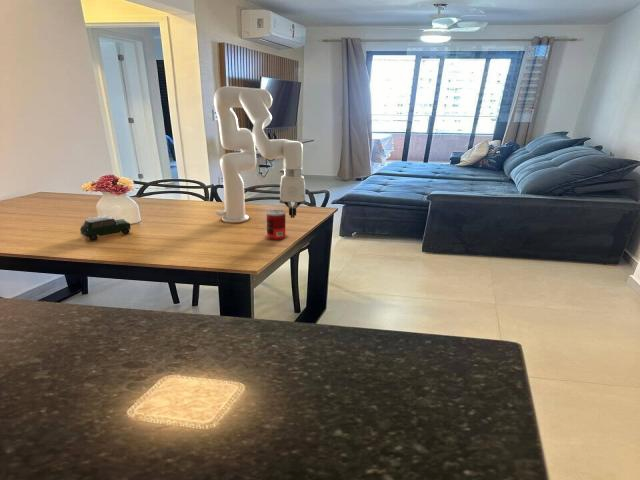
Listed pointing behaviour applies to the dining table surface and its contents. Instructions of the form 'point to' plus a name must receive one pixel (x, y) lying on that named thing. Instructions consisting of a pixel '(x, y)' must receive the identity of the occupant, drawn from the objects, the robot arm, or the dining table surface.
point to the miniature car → (103, 227)
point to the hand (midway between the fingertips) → (292, 217)
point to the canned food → (276, 224)
